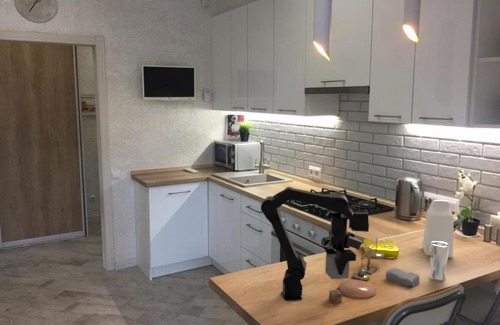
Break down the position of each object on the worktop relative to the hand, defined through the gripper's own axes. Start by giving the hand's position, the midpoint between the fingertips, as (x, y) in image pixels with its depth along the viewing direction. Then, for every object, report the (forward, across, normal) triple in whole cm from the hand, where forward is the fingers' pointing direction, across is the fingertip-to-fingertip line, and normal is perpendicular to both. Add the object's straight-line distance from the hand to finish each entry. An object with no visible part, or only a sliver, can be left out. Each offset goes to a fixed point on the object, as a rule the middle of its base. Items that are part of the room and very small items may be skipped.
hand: (336, 271), depth 159 cm
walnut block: (+12, 0, 0) cm, 12 cm away
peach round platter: (+12, +7, -12) cm, 18 cm away
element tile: (+12, +45, -41) cm, 62 cm away
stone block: (+12, +13, -35) cm, 39 cm away
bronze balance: (+12, +24, -25) cm, 36 cm away
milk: (+12, +40, -69) cm, 80 cm away
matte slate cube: (+2, 0, 0) cm, 2 cm away
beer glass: (+12, +12, -50) cm, 53 cm away
